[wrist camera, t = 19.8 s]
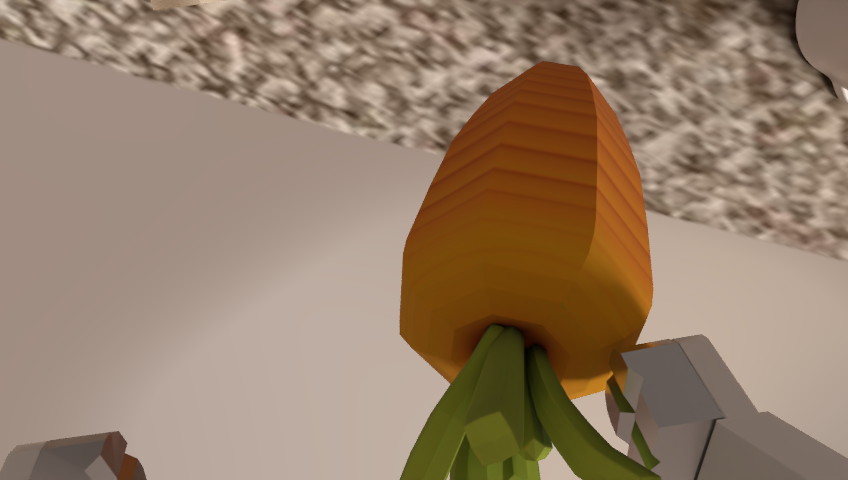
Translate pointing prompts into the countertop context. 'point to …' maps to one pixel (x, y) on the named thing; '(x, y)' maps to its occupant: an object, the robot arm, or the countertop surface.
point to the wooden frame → (178, 3)
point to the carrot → (527, 282)
